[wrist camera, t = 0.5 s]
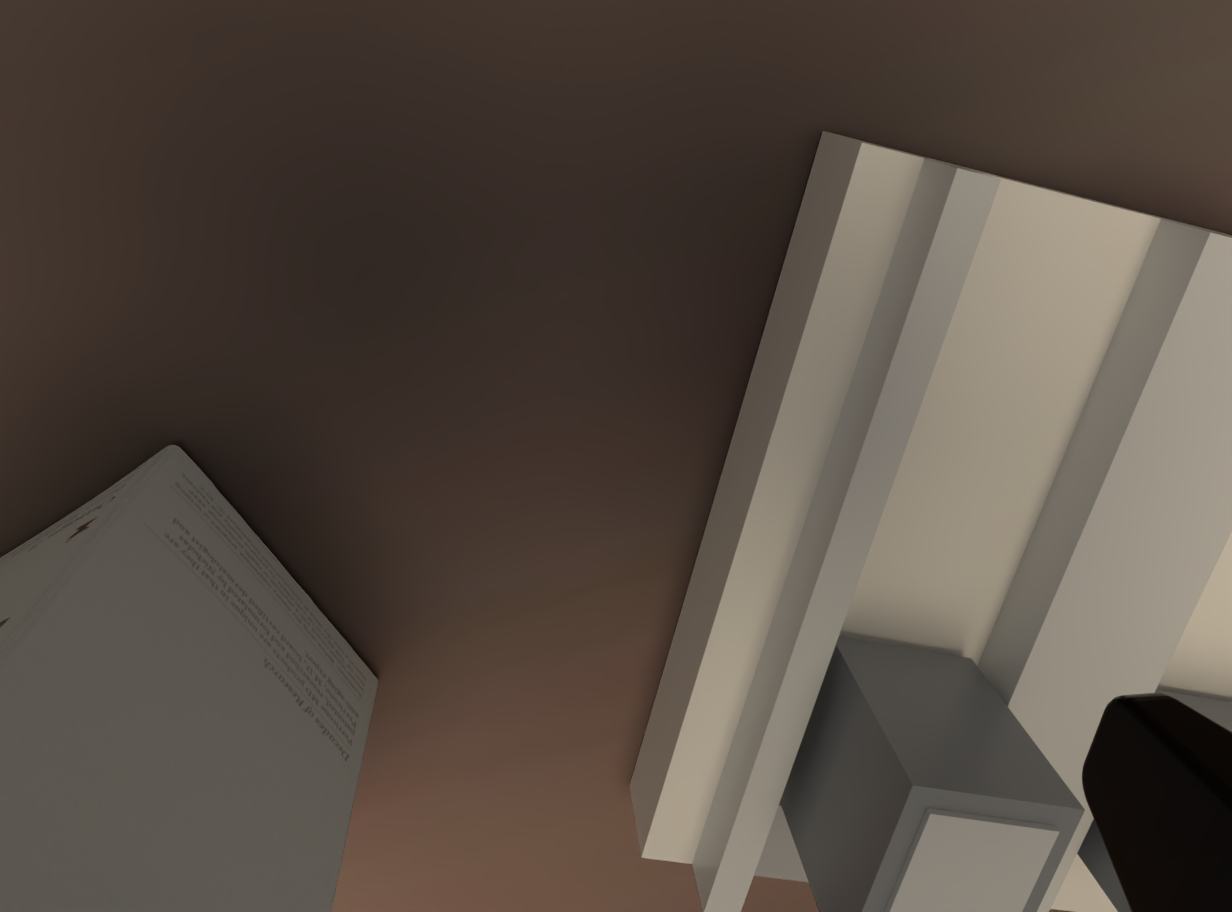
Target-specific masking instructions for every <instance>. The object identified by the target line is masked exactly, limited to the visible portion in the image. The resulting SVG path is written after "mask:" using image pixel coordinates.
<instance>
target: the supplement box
mask: <svg viewBox="0 0 1232 912" xmlns="http://www.w3.org/2000/svg"><path fill="white" fill-rule="evenodd" d="M377 688H378V679H377V678H376V677H375V676H374V675H373V673H372V672H371V671H370V669H369V668H368V667H367V665H366V664H365V663H364V662H363V661H362V660H361V658H360V657H359V656H358V655H357V654H356V652H355V651H354V650H353V649H352V647H351V646H350V645H349V644H348V642H347V641H346V640H345V639H344V638H343V637H342V636H341V635H340V633H339V632H338V631H337V630H336V628H335V627H334V626H333V625H332V624H331V623H330V622H329V620H328V619H327V618H326V617H325V616H324V614H323V613H322V612H321V611H320V610H319V609H318V607H317V606H316V605H315V604H314V602H313V601H312V600H311V599H310V597H309V596H308V595H307V594H306V593H305V591H304V590H303V589H302V588H301V587H300V586H299V585H298V583H297V582H296V581H295V580H294V579H293V578H292V577H291V575H290V574H289V573H288V572H287V571H286V569H285V568H284V567H283V566H282V564H281V563H280V562H279V561H278V560H277V558H276V557H275V556H274V555H273V554H272V552H271V551H270V550H269V549H268V548H267V547H266V546H265V544H264V543H263V542H262V541H261V540H260V538H259V537H258V536H257V535H256V534H255V533H254V532H253V531H252V529H251V528H250V527H249V526H248V524H247V523H246V522H245V521H244V519H243V518H242V517H241V516H240V515H239V514H238V512H237V511H236V510H235V509H234V508H233V507H232V506H231V504H230V503H229V502H228V501H227V500H226V499H225V498H224V497H223V495H222V494H221V493H220V492H219V491H218V490H217V488H216V487H215V485H214V484H213V483H212V482H211V480H210V479H209V478H208V477H207V476H206V475H205V474H204V473H203V472H202V470H201V469H200V468H199V467H198V466H197V465H196V464H195V463H194V462H193V461H192V460H191V459H190V458H189V456H188V455H187V454H186V453H185V452H184V451H183V450H182V449H181V448H180V447H179V446H176V445H169V446H167V447H165V448H164V449H162V450H161V451H160V452H158V453H157V454H155V455H154V456H153V457H151V458H150V459H148V460H147V461H146V462H144V463H143V464H142V465H140V466H139V467H138V468H136V469H135V470H133V471H132V472H131V473H129V474H128V475H126V476H125V477H124V478H122V479H121V480H119V481H118V482H116V483H115V484H114V485H112V486H111V487H109V488H108V489H106V490H105V491H103V492H102V493H101V494H99V495H98V496H96V497H95V498H93V499H92V500H90V501H89V502H87V503H86V504H84V505H82V506H81V507H79V508H78V509H76V510H75V511H73V512H72V513H70V514H69V515H67V516H66V517H64V518H63V519H61V520H59V521H58V522H56V523H55V524H53V525H52V526H50V527H49V528H47V529H45V530H44V531H42V532H41V533H39V534H37V535H36V536H34V537H33V538H31V539H30V540H28V541H26V542H25V543H23V544H22V545H20V546H18V547H17V548H15V549H13V550H12V551H10V552H9V553H7V554H5V555H4V556H2V557H1V558H0V912H331V910H332V906H333V901H334V896H335V891H336V886H337V881H338V877H339V872H340V867H341V862H342V857H343V852H344V847H345V842H346V837H347V832H348V827H349V822H350V817H351V812H352V807H353V803H354V798H355V793H356V789H357V784H358V779H359V774H360V769H361V765H362V760H363V755H364V750H365V745H366V740H367V736H368V731H369V726H370V721H371V716H372V711H373V706H374V701H375V696H376V691H377Z"/></svg>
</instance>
